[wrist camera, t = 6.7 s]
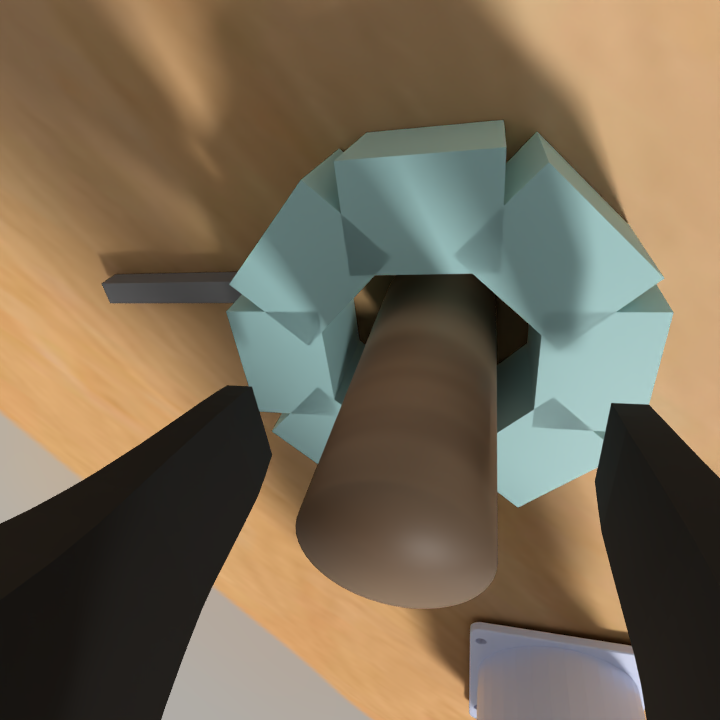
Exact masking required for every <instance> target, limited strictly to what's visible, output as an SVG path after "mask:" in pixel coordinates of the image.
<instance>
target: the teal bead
mask: <svg viewBox="0 0 720 720" xmlns="http://www.w3.org/2000/svg"><path fill="white" fill-rule="evenodd" d="M421 274H473V275H475V276H476V277H477V278H478V279H479V280H480V281H481V282H482V283H484V284H485V285H486V286H487V287H488V288H489V289H490V290H491V291H493V292H494V293H495V294H496V295H497V296H498V297H499V298H500V299H501V300H503V301H504V302H505V303H506V304H507V305H508V306H509V307H510V308H512V309H513V310H514V311H515V312H516V313H517V314H518V315H519V316H521V317H522V318H523V319H524V320H525V321H526V322H527V323H528V324H529V328H528V340H527V344H525V345H524V346H523V347H521V348H520V349H518V350H517V351H516V352H514V353H513V354H512V355H510V356H509V357H508V358H506V359H505V360H504V361H502V362H501V363H499V364H498V365H497V492H498V493H500V494H501V495H502V496H504V497H505V498H506V499H507V500H509V501H510V502H511V503H513V504H514V505H515V506H516V507H520V506H522V505H524V504H526V503H528V502H530V501H532V500H534V499H536V498H538V497H540V496H542V495H544V494H546V493H548V492H550V491H552V490H554V489H556V488H558V487H560V486H562V485H564V484H566V483H568V482H570V481H571V480H573V479H575V478H577V477H579V476H581V475H583V474H585V473H587V472H589V471H591V470H593V469H595V468H597V467H598V464H599V459H600V454H601V450H602V445H603V440H604V435H605V431H606V426H607V421H608V416H609V411H610V407H611V403H626V404H648V405H649V402H650V399H651V395H652V391H653V387H654V384H655V380H656V376H657V372H658V368H659V365H660V361H661V357H662V353H663V350H664V346H665V342H666V338H667V335H668V331H669V327H670V323H671V320H672V316H673V311H672V309H671V308H670V306H669V304H668V303H667V301H666V300H665V298H664V296H663V295H662V293H661V291H660V290H659V288H658V287H657V285H656V284H657V283H658V282H660V281H661V280H663V279H664V277H663V275H662V274H661V272H660V271H659V269H658V268H657V266H656V265H655V263H654V262H653V260H652V259H651V257H650V256H649V254H648V253H647V251H646V250H645V248H644V247H643V245H642V244H641V242H640V241H639V239H638V238H637V236H636V235H635V233H634V232H633V230H632V229H631V227H630V226H629V225H628V224H627V223H626V221H625V220H624V219H623V218H622V217H621V216H620V215H619V214H618V213H617V212H616V211H615V210H614V209H613V208H612V207H611V206H610V205H609V204H608V203H607V202H606V201H605V200H604V199H603V198H602V197H601V196H600V195H599V194H598V193H597V192H596V191H595V190H594V189H593V188H592V187H591V186H590V185H589V184H588V183H587V182H586V181H585V180H584V179H583V178H582V177H581V176H580V175H579V174H578V173H577V172H576V171H575V170H574V169H573V168H572V167H571V165H570V164H569V163H568V162H567V161H566V160H565V159H564V158H563V157H562V156H561V155H560V154H559V153H558V152H557V151H556V150H555V149H554V148H553V147H552V146H551V145H550V144H549V143H548V142H547V141H546V140H545V139H544V138H543V137H542V136H541V135H540V134H539V133H538V132H536V133H535V134H534V135H533V136H532V137H531V138H530V139H529V140H528V141H527V142H526V143H525V144H524V145H523V146H522V147H521V148H520V149H519V151H518V152H517V153H516V154H515V155H514V156H513V157H512V158H511V159H510V160H509V161H508V162H507V163H506V137H505V127H504V120H496V121H485V122H474V123H463V124H453V125H442V126H431V127H421V128H410V129H399V130H388V131H378V132H367V133H365V134H364V135H363V136H362V137H361V138H360V139H358V140H357V141H356V142H355V143H354V144H353V145H351V146H350V147H349V148H348V149H347V150H346V151H345V152H343V151H342V150H340V149H338V150H337V151H335V152H334V153H333V154H332V155H331V156H329V157H328V158H327V159H326V160H324V161H323V162H322V163H321V164H320V165H318V166H317V167H316V168H315V169H313V170H312V171H311V172H310V173H309V174H307V175H306V176H305V177H304V178H302V179H301V180H300V182H299V183H298V185H297V186H296V188H295V189H294V191H293V192H292V194H291V195H290V196H289V198H288V199H287V201H286V202H285V204H284V205H283V207H282V208H281V210H280V211H279V213H278V214H277V215H276V217H275V218H274V220H273V221H272V223H271V224H270V226H269V227H268V229H267V230H266V232H265V233H264V234H263V236H262V237H261V239H260V240H259V242H258V243H257V245H256V246H255V248H254V249H253V250H252V252H251V253H250V255H249V256H248V258H247V259H246V261H245V262H244V264H243V265H242V267H241V268H240V269H239V271H238V272H237V274H236V275H235V277H234V278H233V280H232V281H231V283H230V284H229V285H231V286H232V287H233V288H235V289H236V290H237V291H238V292H240V293H241V294H242V295H241V296H240V297H239V298H238V299H237V300H236V301H235V303H234V304H233V305H232V306H231V307H230V308H229V309H228V310H227V311H226V313H227V316H228V320H229V323H230V326H231V329H232V333H233V336H234V339H235V343H236V346H237V349H238V352H239V356H240V359H241V362H242V366H243V369H244V372H245V375H246V379H247V382H248V385H249V386H250V387H252V388H253V392H254V395H255V398H256V402H257V405H258V409H259V412H276V413H282V414H281V416H280V418H279V419H278V421H277V423H276V425H275V427H274V429H273V430H272V432H273V433H275V434H276V435H278V436H279V437H280V438H282V439H283V440H285V441H286V442H288V443H289V444H290V445H292V446H293V447H295V448H296V449H297V450H299V451H300V452H302V453H303V454H304V455H306V456H307V457H309V458H310V459H311V460H313V461H314V462H316V463H317V464H318V463H319V460H320V458H321V455H322V453H323V450H324V448H325V445H326V443H327V440H328V438H329V435H330V433H331V430H332V428H333V425H334V423H335V420H336V418H337V415H338V413H339V410H340V408H341V405H342V403H343V400H344V398H345V395H346V393H347V390H348V388H349V385H350V383H351V380H352V378H353V375H354V373H355V370H356V368H357V365H358V363H359V360H360V358H361V355H362V353H363V350H364V348H365V344H364V343H362V342H361V341H360V340H359V333H358V326H357V318H356V311H355V304H354V297H355V296H356V295H357V294H358V293H359V292H360V291H361V290H362V289H363V287H364V286H365V285H366V284H367V283H368V282H369V281H370V280H371V279H372V278H373V277H374V276H375V275H421Z"/></svg>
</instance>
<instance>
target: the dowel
mask: <svg viewBox="0 0 720 720" xmlns="http://www.w3.org/2000/svg"><path fill="white" fill-rule="evenodd" d="M296 535H297V538H298V542H299V544H300V546H301V549H302V550H303V552H304V553H305V555H306V557H307V558H308V559H309V560H310V562H311V563H312V564H313V565H314V566H315V567H316V568H317V569H318V570H319V571H320V572H321V573H323V574H324V575H325V576H326V577H328V578H329V579H330V580H332V581H333V582H335V583H336V584H338V585H340V586H341V587H343V588H345V589H347V590H349V591H351V592H353V593H355V594H357V595H360V596H362V597H365V598H367V599H370V600H373V601H376V602H380V603H384V604H388V605H392V606H398V607H404V608H414V609H433V608H443V607H449V606H454V605H458V604H461V603H464V602H466V601H469V600H471V599H473V598H475V597H476V596H478V595H479V594H481V593H482V592H483V591H484V590H485V589H486V588H487V587H488V586H489V585H490V584H491V582H492V581H493V579H494V577H495V574H496V571H497V565H498V506H497V340H496V300H495V296H494V293H493V291H491V290H490V289H489V288H488V287H487V286H486V285H485V284H484V283H482V282H481V281H480V280H479V279H478V278H477V277H476V276H475V275H473V274H421V275H396V277H395V278H394V279H393V280H392V282H391V284H390V285H389V287H388V290H387V292H386V295H385V297H384V300H383V302H382V305H381V307H380V310H379V312H378V315H377V317H376V320H375V323H374V325H373V328H372V330H371V333H370V335H369V338H368V340H367V343H366V345H365V348H364V350H363V353H362V355H361V358H360V360H359V363H358V365H357V368H356V370H355V373H354V375H353V378H352V380H351V383H350V385H349V388H348V390H347V393H346V395H345V398H344V400H343V403H342V405H341V408H340V410H339V413H338V415H337V418H336V420H335V423H334V425H333V428H332V430H331V433H330V435H329V438H328V440H327V443H326V445H325V448H324V450H323V453H322V455H321V458H320V460H319V463H318V465H317V468H316V470H315V473H314V475H313V478H312V480H311V483H310V485H309V488H308V490H307V493H306V495H305V498H304V500H303V503H302V505H301V508H300V510H299V513H298V516H297V519H296Z"/></svg>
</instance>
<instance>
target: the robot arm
mask: <svg viewBox="0 0 720 720" xmlns="http://www.w3.org/2000/svg"><path fill="white" fill-rule="evenodd" d="M271 457H272V453H271V449H270V446H269V442H268V439H267V436H266V432H265V429H264V425H263V422H262V419H261V415H260V412H259V409H258V405H257V402H256V398H255V395H254V392H253V388H252V387H250V386H228V385H227V386H226V387H224V388H222V389H221V390H219V391H217V392H216V393H214V394H213V395H211V396H210V397H208V398H206V399H205V400H204V401H202V402H201V403H199V404H198V405H196V406H195V407H193V408H192V409H190V410H189V411H188V412H186V413H185V414H183V415H182V416H180V417H179V418H178V419H176V420H175V421H173V422H172V423H170V424H169V425H167V426H166V427H164V428H163V429H162V430H160V431H159V432H157V433H156V434H154V435H153V436H151V437H150V438H148V439H147V440H146V441H144V442H143V443H141V444H140V445H138V446H136V447H135V448H133V449H132V450H130V451H129V452H127V453H126V454H124V455H122V456H121V457H119V458H118V459H116V460H115V461H113V462H112V463H110V464H108V465H107V466H105V467H104V468H102V469H101V470H99V471H97V472H96V473H94V474H93V475H91V476H89V477H88V478H86V479H84V480H83V481H81V482H79V483H77V484H76V485H74V486H72V487H70V488H69V489H67V490H65V491H63V492H61V493H60V494H58V495H56V496H54V497H52V498H51V499H49V500H47V501H45V502H43V503H41V504H39V505H38V506H36V507H34V508H32V509H30V510H28V511H26V512H24V513H22V514H20V515H18V516H16V517H13V518H11V519H10V520H7V521H5V522H3V523H1V524H0V720H161V718H162V715H163V712H164V709H165V706H166V703H167V701H168V698H169V695H170V692H171V689H172V687H173V684H174V681H175V678H176V676H177V673H178V670H179V667H180V664H181V662H182V659H183V656H184V654H185V651H186V649H187V646H188V643H189V641H190V638H191V636H192V633H193V630H194V628H195V626H196V623H197V620H198V618H199V615H200V613H201V610H202V608H203V606H204V603H205V601H206V599H207V597H208V595H209V593H210V590H211V588H212V586H213V584H214V582H215V580H216V578H217V576H218V574H219V572H220V570H221V568H222V566H223V565H224V563H225V561H226V559H227V557H228V555H229V553H230V551H231V549H232V547H233V545H234V543H235V541H236V539H237V537H238V535H239V533H240V531H241V529H242V527H243V525H244V523H245V521H246V519H247V517H248V515H249V513H250V511H251V509H252V507H253V505H254V503H255V501H256V499H257V497H258V494H259V492H260V489H261V486H262V483H263V481H264V478H265V475H266V472H267V469H268V466H269V463H270V460H271ZM595 486H596V494H597V502H598V510H599V517H600V524H601V531H602V535H603V539H604V543H605V547H606V551H607V555H608V559H609V563H610V566H611V570H612V574H613V578H614V581H615V585H616V589H617V593H618V596H619V600H620V604H621V608H622V611H623V615H624V619H625V623H626V626H627V630H628V634H629V638H630V641H631V645H632V646H631V645H625V644H618V643H612V642H605V641H599V640H593V639H586V638H580V637H573V636H567V635H561V634H554V633H548V632H542V631H535V630H529V629H522V628H516V627H510V626H503V625H497V624H491V623H484V622H474V623H473V624H471V626H470V681H469V713H470V715H471V716H472V717H474V718H477V720H645V715H644V709H645V712H646V718H647V720H720V478H719V477H718V476H717V475H716V474H715V473H714V472H713V471H712V470H711V469H710V468H709V467H708V466H707V465H706V464H705V463H704V462H703V461H702V460H701V459H700V458H699V457H698V456H697V455H696V454H695V452H694V451H693V450H692V449H691V448H690V447H689V446H688V445H687V444H686V443H685V442H684V441H683V440H682V439H681V438H680V437H679V436H678V435H677V434H676V433H675V432H674V430H673V429H672V428H671V427H670V426H669V425H668V424H667V423H666V422H665V421H664V420H663V419H662V418H661V417H660V416H659V415H658V414H657V413H656V412H655V411H654V410H653V409H652V407H651V406H650V405H648V404H626V403H611V407H610V411H609V416H608V421H607V426H606V431H605V435H604V440H603V445H602V450H601V454H600V459H599V464H598V469H597V474H596V478H595Z"/></svg>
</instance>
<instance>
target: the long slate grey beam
mask: <svg viewBox="0 0 720 720" xmlns="http://www.w3.org/2000/svg"><path fill="white" fill-rule="evenodd" d="M236 274H237V272H206V273H158V274H115V275H114V276H112V277H111V278H109V279H108V280H106V281H105V282H103V283H102V286H103V288H104V290H105V293H106V295H107V297H108V299H109V302H110V303H235V301H236V300H237V299H238V298H239V297H240V296H241V295H242V294H241V293H240V292H238V291H237V290H236V289H235V288H233V287H232V286H231V285H229V284H230V283H231V281H232V280H233V278H234V277H235V275H236Z"/></svg>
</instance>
